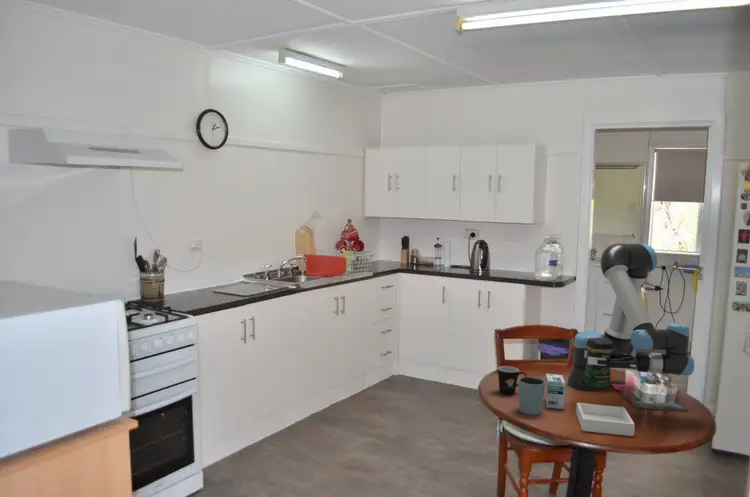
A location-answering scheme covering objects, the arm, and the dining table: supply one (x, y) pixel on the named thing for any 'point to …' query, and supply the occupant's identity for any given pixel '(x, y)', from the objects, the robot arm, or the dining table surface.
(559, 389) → the light bulb box
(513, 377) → the coffee mug
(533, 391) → the blue-grey cup
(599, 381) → the coffee jar
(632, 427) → the tray
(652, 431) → the dining table surface
